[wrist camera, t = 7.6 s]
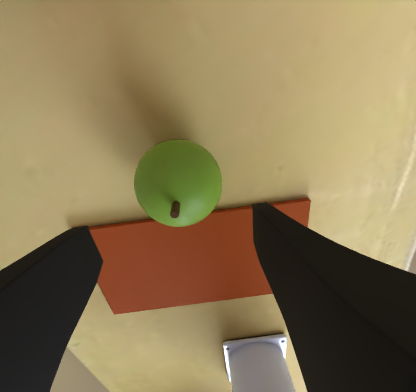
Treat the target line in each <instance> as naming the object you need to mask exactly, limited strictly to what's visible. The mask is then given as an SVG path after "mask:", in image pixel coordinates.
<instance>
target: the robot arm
mask: <svg viewBox="0 0 416 392" xmlns="http://www.w3.org/2000/svg"><path fill="white" fill-rule="evenodd" d="M252 214H253V242H254V246H255V249H256V253H257V256H258V259H259V262H260V265H261V267H262V269H263V272H264V274H265V276H266V279H267V281H268V283H269V285H270V288H271V290H272V292H273V295H274V297H275V299H276V301H277V304H278V306H279V308H280V311H281V313H282V316H283V318H284V321H285V324H286V327H287V330H288V333H289V336H290V339H291V342H292V345H293V348H294V351H295V354H296V357H297V360H298V363H299V366H300V369H301V372H302V376H303V379H304V382H305V385H306V388H307V392H416V274H413V273H410V272H407V271H404V270H401V269H399V268H396V267H393V266H391V265H388V264H385V263H383V262H380V261H378V260H375V259H372V258H370V257H367V256H365V255H363V254H360V253H358V252H356V251H353V250H351V249H349V248H347V247H344V246H342V245H340V244H338V243H336V242H334V241H332V240H330V239H328V238H326V237H324V236H322V235H320V234H318V233H316V232H315V231H313V230H311V229H309V228H307V227H306V226H304V225H302V224H300V223H299V222H297V221H296V220H294V219H292V218H291V217H289V216H287V215H286V214H284V213H283V212H281V211H280V210H278V209H277V208H275V207H274V206H272V205H270V204H269V203H267V202H264V203H256V204H252ZM102 265H103V259H102V257H101V254H100V252H99V250H98V248H97V246H96V244H95V241H94V239H93V237H92V235H91V233H90V231H89V229H88V226H82V227H74V228H71V229H69V230H67V231H65V232H64V233H62V234H60V235H58V236H57V237H55V238H53V239H52V240H50V241H48V242H47V243H45V244H43V245H42V246H40V247H38V248H37V249H35V250H34V251H32V252H30V253H29V254H27V255H26V256H24V257H22V258H21V259H19V260H17V261H16V262H14V263H12V264H11V265H9V266H7V267H6V268H4V269H2V270H1V271H0V392H50V389H51V386H52V383H53V380H54V378H55V375H56V372H57V370H58V367H59V364H60V362H61V359H62V356H63V354H64V351H65V349H66V347H67V344H68V342H69V340H70V338H71V335H72V333H73V331H74V329H75V327H76V325H77V323H78V321H79V319H80V317H81V315H82V313H83V311H84V309H85V307H86V305H87V302H88V300H89V298H90V296H91V294H92V292H93V290H94V288H95V285H96V283H97V280H98V277H99V275H100V271H101V268H102ZM286 344H287V337H286V335H285V334H278V335H271V336H263V337H255V338H248V339H240V340H232V341H226V342H224V343H223V349H224V355H225V362H226V368H227V375H228V380H229V381H231V385H232V392H296V391H295V388H294V385H293V382H292V379H291V376H290V373H289V370H288V367H287V364H286V361H285V355H286Z"/></svg>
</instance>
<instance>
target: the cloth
mask: <svg viewBox="0 0 416 392" xmlns="http://www.w3.org/2000/svg"><path fill="white" fill-rule="evenodd" d="M310 202H311V200H310V199H309V198H306V199H298V200H291V201H283V202H276V203H269V204H270V205H272V206H274V207H275V208H277V209H278V210H280V211H281V212H283V213H284V214H286V215H287V216H289V217H291V218H292V219H294V220H296V221H297V222H299V223H300V224H302V225H304V226H306V227H308V219H309V210H310ZM88 229H89V231H90V233H91V235H92V237H93V239H94V241H95V244H96V246H97V248H98V250H99V252H100V254H101V257H102V259H103V265H102V268H101V271H100V275H99V277H98V280H97V283H98V284H99V286H100V288H101V290H102V292H103V294H104V296H105V298H106V300H107V302H108V304H109V306H110V308H111V309H112V311H113V313H114V314H121V313H129V312H137V311H144V310H152V309H159V308H167V307H175V306H182V305H190V304H197V303H205V302H213V301H220V300H228V299H236V298H243V297H251V296H258V295H266V294H273V292H272V290H271V288H270V285H269V283H268V281H267V279H266V276H265V274H264V272H263V269H262V267H261V265H260V262H259V259H258V256H257V253H256V249H255V246H254V242H253V214H252V206H246V207H238V208H231V209H223V210H216V211H212V212H211V213H210V214H209V215H208V216H207V217H206V218H204V219H203V220H201V221H200V222H198V223H195V224H192V225H189V226H183V227H174V226H168V225H165V224H162V223H160V222H158V221H156V220H154V219H148V220H140V221H133V222H125V223H118V224H110V225H103V226H95V227H88Z"/></svg>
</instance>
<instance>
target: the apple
mask: <svg viewBox="0 0 416 392" xmlns="http://www.w3.org/2000/svg"><path fill="white" fill-rule="evenodd" d="M134 188H135V193H136V197H137V199H138V202H139V203H140V205H141V207H142V208H143V210H144V211H145V212H146V213H147V214H148V215H149V216H150V217H151V218H153V219H154V220H156V221H158V222H160V223H162V224H165V225H168V226H174V227H183V226H189V225H192V224H195V223H198V222H200V221H201V220H203V219H204V218H206V217H207V216H208V215H209V214H210V213H211V212H212V211H213V209H214V208H215V206H216V205H217V203H218V201H219V199H220V195H221V191H222V176H221V172H220V168H219V166H218V164H217V162H216V160H215V159H214V157H213V156H212V155H211V154H210V153H209V152H208V151H207V150H206V149H205V148H203V147H202V146H200V145H198V144H196V143H194V142H191V141H187V140H179V139H177V140H169V141H165V142H162V143H159V144H157V145H155V146H154V147H153V148H151V149H150V150H149V151H148V152H147V153H146V154H145V155H144V156H143V157H142V159H141V160H140V162H139V164H138V166H137V169H136V172H135V178H134Z"/></svg>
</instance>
